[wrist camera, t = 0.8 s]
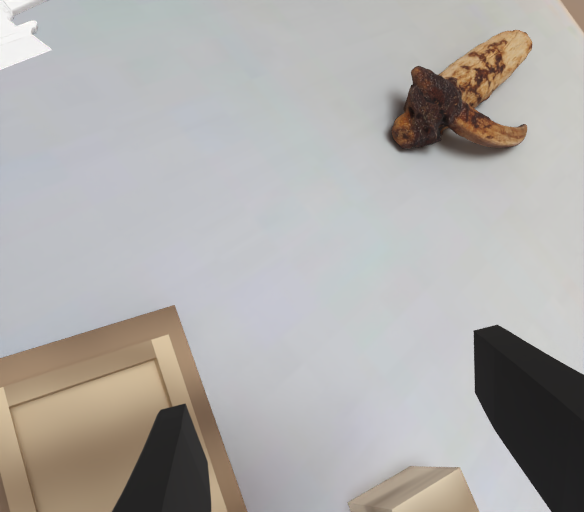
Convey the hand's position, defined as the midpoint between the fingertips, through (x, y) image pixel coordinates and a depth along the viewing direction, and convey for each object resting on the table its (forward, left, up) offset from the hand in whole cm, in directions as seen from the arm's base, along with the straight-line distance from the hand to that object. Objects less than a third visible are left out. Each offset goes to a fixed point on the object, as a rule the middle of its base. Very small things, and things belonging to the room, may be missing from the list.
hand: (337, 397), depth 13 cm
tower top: (0, +4, -14) cm, 15 cm away
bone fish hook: (+14, -29, -17) cm, 36 cm away
